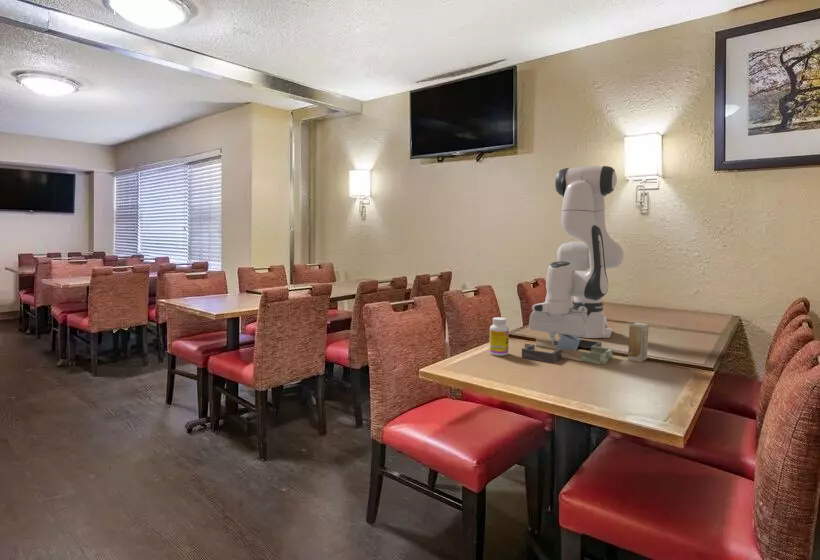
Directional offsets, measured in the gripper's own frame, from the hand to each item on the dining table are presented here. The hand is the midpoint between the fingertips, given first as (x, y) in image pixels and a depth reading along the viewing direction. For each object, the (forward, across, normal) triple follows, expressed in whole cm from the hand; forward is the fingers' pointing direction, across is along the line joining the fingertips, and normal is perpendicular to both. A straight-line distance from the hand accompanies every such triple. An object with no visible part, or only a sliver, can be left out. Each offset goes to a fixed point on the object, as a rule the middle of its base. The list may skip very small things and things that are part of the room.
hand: (556, 345), depth 172 cm
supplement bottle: (+3, +16, +14) cm, 21 cm away
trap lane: (+3, -3, 0) cm, 4 cm away
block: (+2, -3, 0) cm, 4 cm away
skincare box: (+3, -25, -9) cm, 27 cm away
